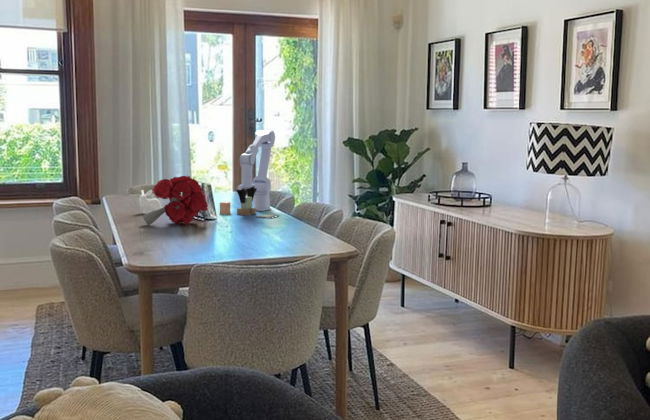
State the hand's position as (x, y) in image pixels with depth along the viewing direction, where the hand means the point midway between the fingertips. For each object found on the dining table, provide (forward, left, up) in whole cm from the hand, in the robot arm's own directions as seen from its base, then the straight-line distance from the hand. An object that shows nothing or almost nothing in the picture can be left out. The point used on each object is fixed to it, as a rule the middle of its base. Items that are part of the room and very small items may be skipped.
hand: (246, 202), depth 339 cm
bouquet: (+48, -9, -6) cm, 49 cm away
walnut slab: (0, 0, -7) cm, 7 cm away
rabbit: (+27, -42, -6) cm, 50 cm away
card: (+2, +14, -6) cm, 15 cm away
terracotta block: (+5, -10, -6) cm, 13 cm away
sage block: (0, 0, -3) cm, 3 cm away
